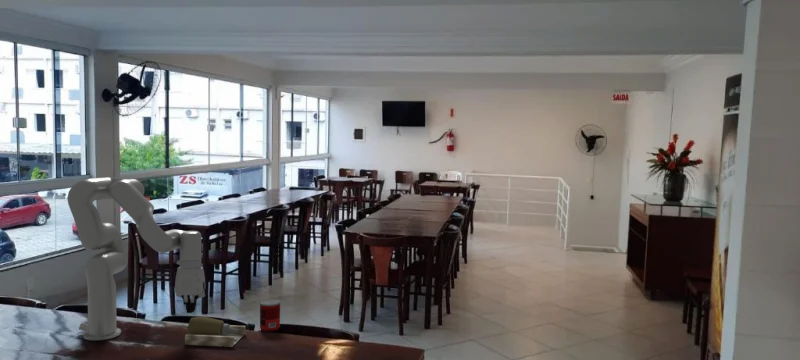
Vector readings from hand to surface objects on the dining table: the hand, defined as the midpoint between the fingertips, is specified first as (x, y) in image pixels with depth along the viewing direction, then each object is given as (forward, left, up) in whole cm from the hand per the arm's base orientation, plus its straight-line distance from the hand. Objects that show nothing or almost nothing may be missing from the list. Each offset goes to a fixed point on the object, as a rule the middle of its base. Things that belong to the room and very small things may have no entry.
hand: (190, 312), depth 206 cm
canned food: (+26, +15, -10) cm, 32 cm away
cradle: (+10, 0, -10) cm, 14 cm away
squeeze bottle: (0, 0, -5) cm, 5 cm away
